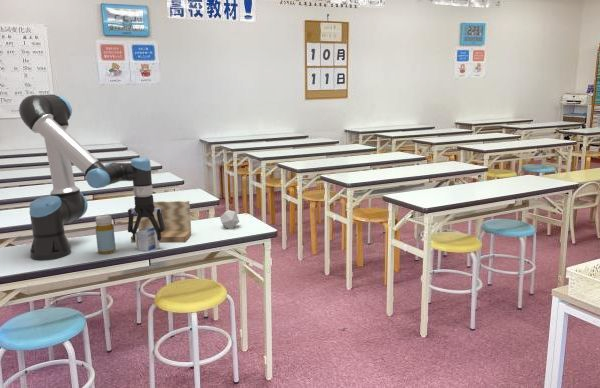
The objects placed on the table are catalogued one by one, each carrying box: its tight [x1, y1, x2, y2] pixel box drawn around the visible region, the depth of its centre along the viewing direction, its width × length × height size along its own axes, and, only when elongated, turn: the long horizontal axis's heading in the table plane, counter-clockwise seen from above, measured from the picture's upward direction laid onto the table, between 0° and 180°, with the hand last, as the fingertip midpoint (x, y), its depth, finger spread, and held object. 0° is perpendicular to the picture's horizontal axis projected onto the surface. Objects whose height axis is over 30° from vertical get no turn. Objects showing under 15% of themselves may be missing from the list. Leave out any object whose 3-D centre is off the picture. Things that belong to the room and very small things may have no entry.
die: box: [219, 209, 240, 230], centre depth 246 cm, size 8×9×10 cm
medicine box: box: [137, 226, 156, 252], centre depth 215 cm, size 8×4×9 cm, turn 168°
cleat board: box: [130, 200, 192, 244], centre depth 228 cm, size 24×12×16 cm, turn 89°
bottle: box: [95, 214, 117, 255], centre depth 211 cm, size 7×7×15 cm
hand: (147, 247), depth 216 cm, fingers open, 8 cm apart
